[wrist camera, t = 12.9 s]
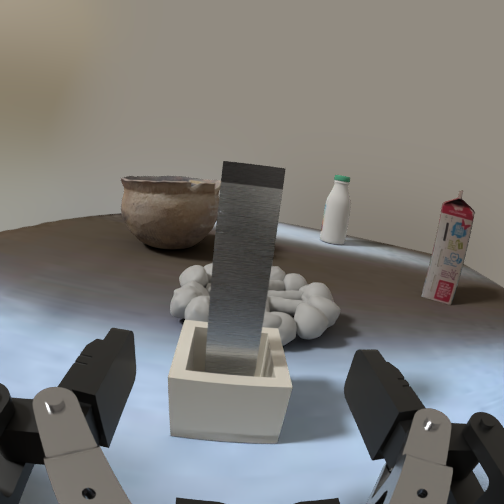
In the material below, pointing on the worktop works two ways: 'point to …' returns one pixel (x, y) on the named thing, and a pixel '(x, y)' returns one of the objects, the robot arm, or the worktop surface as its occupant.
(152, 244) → the ceramic bowl
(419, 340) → the worktop surface
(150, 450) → the worktop surface
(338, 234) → the milk bottle
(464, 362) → the worktop surface
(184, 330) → the open box
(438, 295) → the juice carton
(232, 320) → the grey long square block
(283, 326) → the campfire
